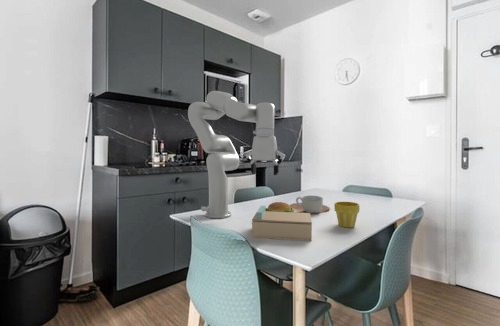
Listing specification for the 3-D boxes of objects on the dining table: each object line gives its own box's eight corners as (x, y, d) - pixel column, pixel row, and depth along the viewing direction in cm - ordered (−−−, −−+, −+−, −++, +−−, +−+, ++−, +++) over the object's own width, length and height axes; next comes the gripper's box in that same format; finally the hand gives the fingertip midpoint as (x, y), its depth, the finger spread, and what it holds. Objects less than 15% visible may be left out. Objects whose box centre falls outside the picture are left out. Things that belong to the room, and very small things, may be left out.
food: (284, 214, 139) (284, 198, 138) (298, 221, 126) (299, 204, 125) (259, 216, 134) (259, 200, 133) (272, 224, 121) (272, 206, 120)
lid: (252, 220, 102) (252, 212, 102) (257, 212, 116) (257, 205, 116) (311, 223, 98) (311, 215, 98) (310, 214, 112) (310, 207, 112)
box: (252, 237, 103) (252, 221, 102) (257, 226, 116) (257, 212, 116) (311, 240, 99) (311, 224, 98) (309, 229, 113) (310, 215, 112)
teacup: (325, 211, 145) (325, 196, 144) (318, 215, 135) (319, 199, 135) (300, 208, 152) (300, 194, 152) (293, 212, 143) (293, 197, 142)
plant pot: (329, 223, 122) (329, 202, 121) (347, 221, 125) (348, 200, 125) (344, 230, 112) (345, 206, 111) (364, 227, 116) (365, 205, 115)
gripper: (242, 133, 112) (242, 174, 113) (282, 132, 105) (282, 176, 106) (249, 133, 119) (249, 172, 120) (287, 133, 112) (287, 174, 113)
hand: (264, 174), depth 113 cm, fingers open, 9 cm apart
